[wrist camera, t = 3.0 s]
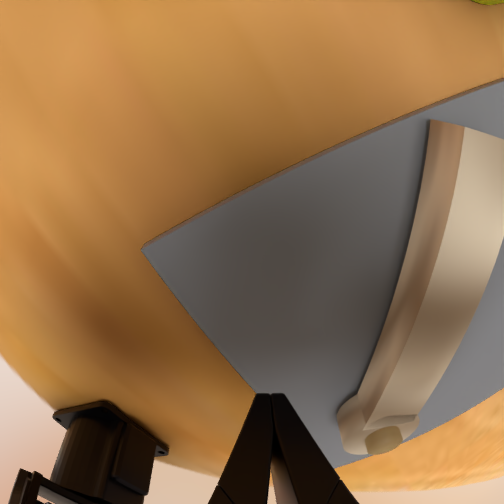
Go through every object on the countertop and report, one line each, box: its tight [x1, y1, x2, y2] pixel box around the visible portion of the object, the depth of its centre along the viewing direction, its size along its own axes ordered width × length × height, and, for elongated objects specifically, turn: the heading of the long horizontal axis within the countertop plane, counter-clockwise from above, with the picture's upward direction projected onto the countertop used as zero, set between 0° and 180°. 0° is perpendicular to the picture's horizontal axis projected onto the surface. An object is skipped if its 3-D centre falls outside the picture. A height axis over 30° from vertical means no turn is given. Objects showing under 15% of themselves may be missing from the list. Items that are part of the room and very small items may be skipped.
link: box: [337, 119, 504, 455], centre depth 12 cm, size 17×4×3 cm, turn 178°
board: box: [141, 78, 504, 468], centre depth 14 cm, size 24×22×1 cm
